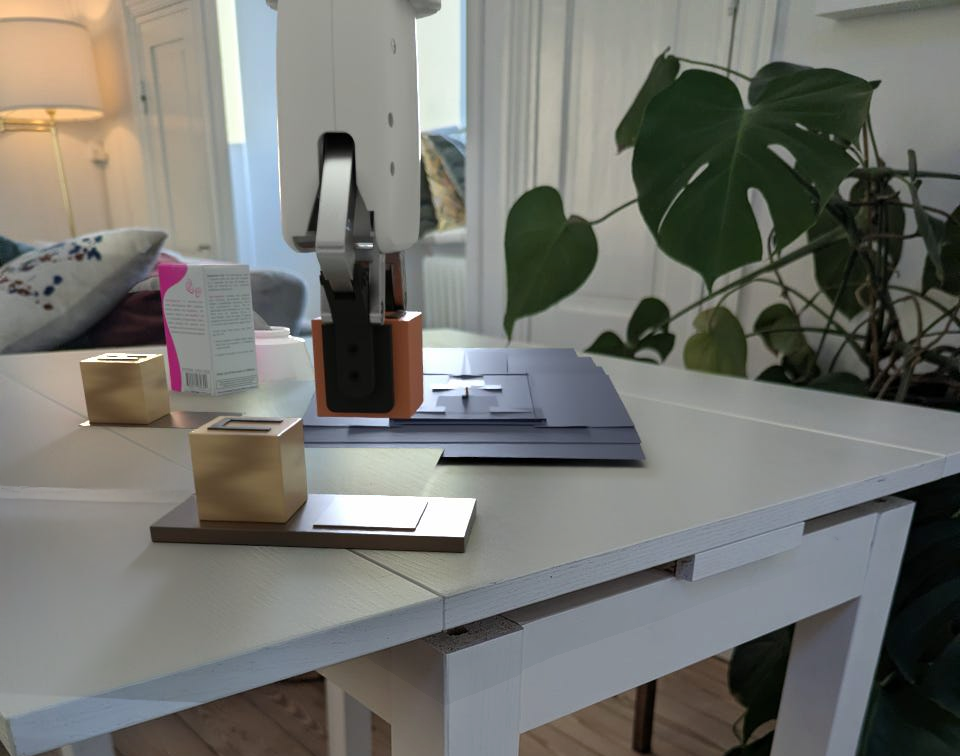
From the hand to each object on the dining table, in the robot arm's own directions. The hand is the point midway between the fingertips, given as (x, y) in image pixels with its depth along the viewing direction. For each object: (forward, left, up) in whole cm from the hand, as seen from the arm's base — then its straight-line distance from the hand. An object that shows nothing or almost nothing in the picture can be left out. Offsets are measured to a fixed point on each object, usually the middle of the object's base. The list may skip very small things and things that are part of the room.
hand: (371, 398), depth 47 cm
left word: (-21, +24, -7) cm, 32 cm away
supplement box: (-22, +38, -7) cm, 44 cm away
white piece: (-24, +47, -7) cm, 53 cm away
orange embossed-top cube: (0, 0, -1) cm, 1 cm away
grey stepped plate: (+2, +29, -7) cm, 30 cm away
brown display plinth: (-3, 0, -7) cm, 7 cm away
